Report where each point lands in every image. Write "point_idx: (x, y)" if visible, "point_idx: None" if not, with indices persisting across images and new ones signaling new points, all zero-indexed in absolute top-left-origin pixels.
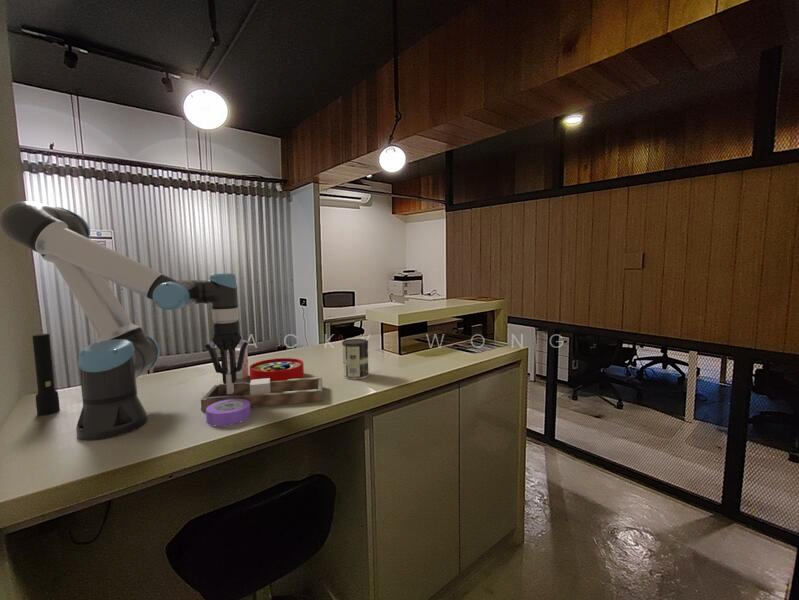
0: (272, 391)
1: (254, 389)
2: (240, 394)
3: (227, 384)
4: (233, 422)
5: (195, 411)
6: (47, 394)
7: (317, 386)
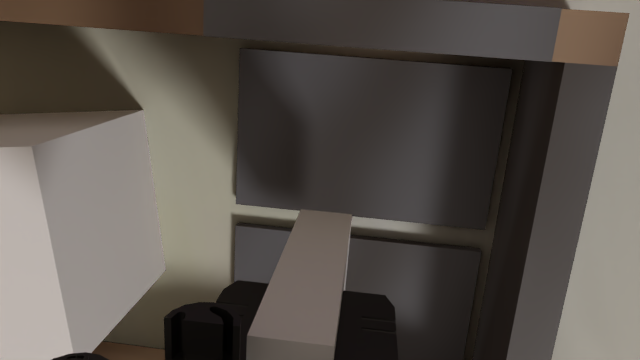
0: None
1: (22, 135)
2: None
3: (330, 259)
4: None
5: (634, 30)
6: None
7: None
